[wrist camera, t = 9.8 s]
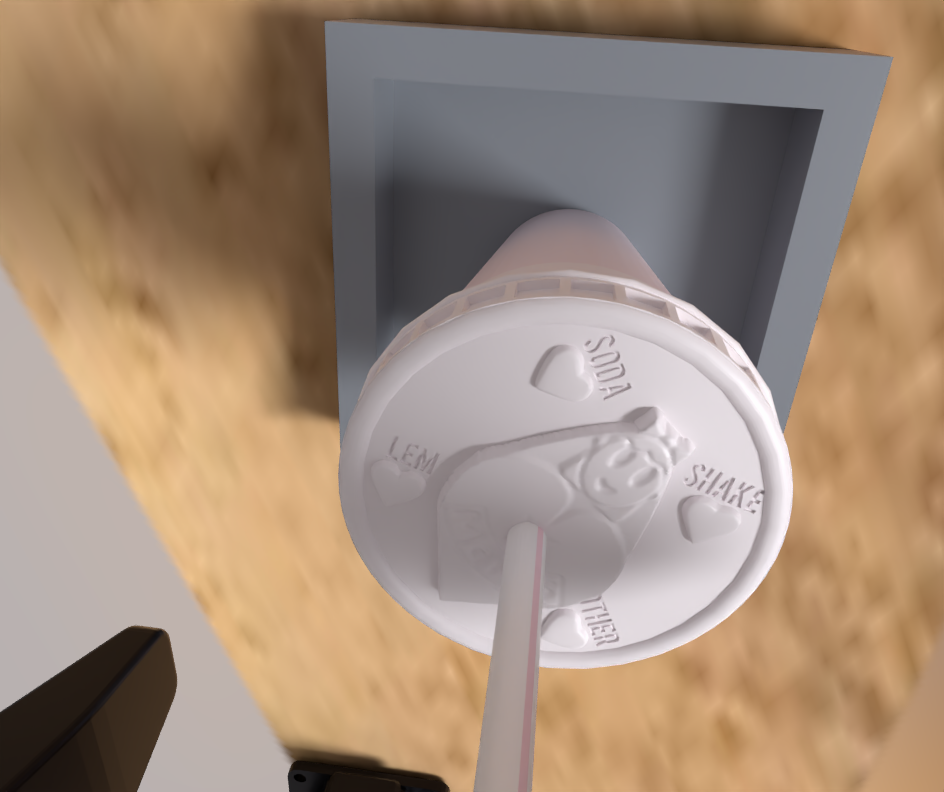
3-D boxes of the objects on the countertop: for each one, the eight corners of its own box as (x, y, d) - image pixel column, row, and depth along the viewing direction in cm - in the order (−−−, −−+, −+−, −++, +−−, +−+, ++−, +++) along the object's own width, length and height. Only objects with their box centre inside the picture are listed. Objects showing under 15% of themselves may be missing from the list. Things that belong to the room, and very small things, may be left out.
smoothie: (390, 275, 19) (65, 750, 7) (577, 88, 17) (575, 330, 4) (557, 435, 21) (528, 1049, 9) (751, 288, 18) (1104, 870, 6)
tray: (738, 469, 21) (757, 523, 19) (364, 428, 22) (341, 475, 20) (850, 49, 16) (893, 56, 14) (356, 18, 17) (324, 20, 15)
